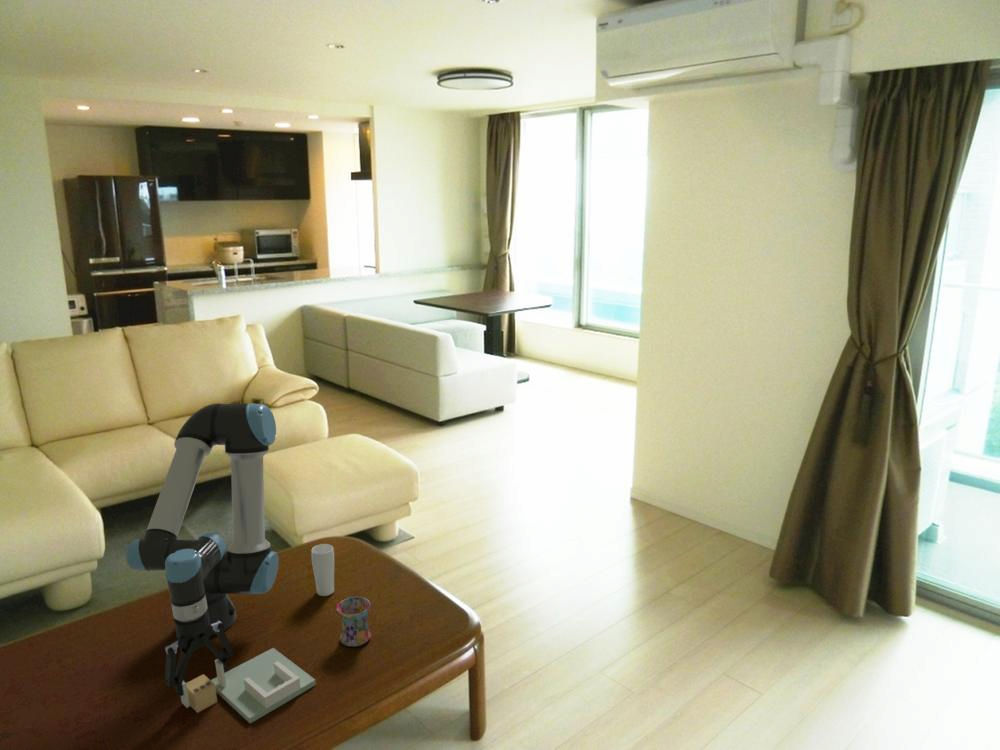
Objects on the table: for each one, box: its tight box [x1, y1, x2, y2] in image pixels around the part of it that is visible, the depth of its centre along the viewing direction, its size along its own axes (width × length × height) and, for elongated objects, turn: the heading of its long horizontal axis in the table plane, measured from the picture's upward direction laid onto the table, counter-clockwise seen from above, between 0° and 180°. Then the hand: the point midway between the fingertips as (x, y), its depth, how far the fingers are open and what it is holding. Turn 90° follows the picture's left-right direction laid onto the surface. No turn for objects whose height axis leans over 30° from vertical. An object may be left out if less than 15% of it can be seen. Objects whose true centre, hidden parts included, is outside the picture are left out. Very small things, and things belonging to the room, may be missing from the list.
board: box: [210, 647, 317, 724], centre depth 177 cm, size 20×18×4 cm
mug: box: [335, 596, 372, 648], centre depth 195 cm, size 12×9×11 cm
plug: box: [185, 674, 218, 714], centre depth 171 cm, size 6×5×5 cm
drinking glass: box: [310, 543, 335, 597], centre depth 218 cm, size 7×7×15 cm
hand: (204, 694), depth 172 cm, fingers open, 8 cm apart
